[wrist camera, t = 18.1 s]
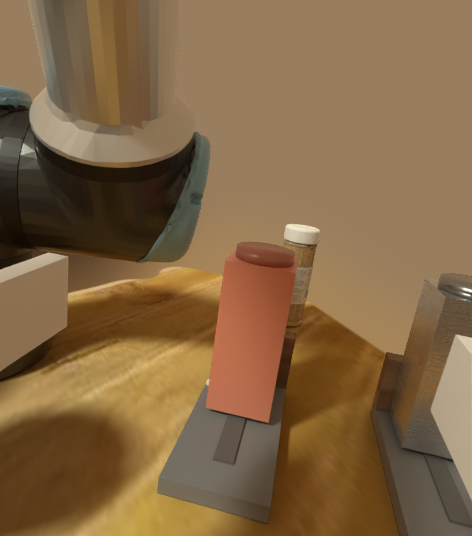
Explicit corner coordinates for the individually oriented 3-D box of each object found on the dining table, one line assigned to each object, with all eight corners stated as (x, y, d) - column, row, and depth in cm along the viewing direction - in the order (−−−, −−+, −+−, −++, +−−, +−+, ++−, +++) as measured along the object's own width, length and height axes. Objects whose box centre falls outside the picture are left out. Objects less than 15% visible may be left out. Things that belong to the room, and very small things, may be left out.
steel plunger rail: (540, 600, 21) (582, 509, 20) (405, 562, 22) (435, 473, 21) (450, 430, 35) (470, 369, 33) (370, 412, 36) (386, 352, 34)
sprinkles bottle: (278, 311, 58) (293, 222, 54) (307, 321, 56) (325, 228, 52) (264, 320, 54) (280, 224, 50) (295, 331, 52) (314, 231, 48)
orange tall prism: (268, 422, 30) (298, 262, 27) (205, 407, 31) (226, 249, 27) (274, 388, 35) (300, 248, 31) (220, 375, 35) (239, 237, 32)
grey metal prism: (472, 464, 29) (530, 300, 25) (401, 447, 29) (449, 285, 26) (449, 422, 33) (496, 279, 30) (389, 408, 34) (427, 268, 31)
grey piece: (267, 523, 23) (284, 436, 22) (157, 492, 24) (165, 407, 23) (284, 392, 37) (295, 333, 36) (213, 376, 38) (221, 318, 37)
